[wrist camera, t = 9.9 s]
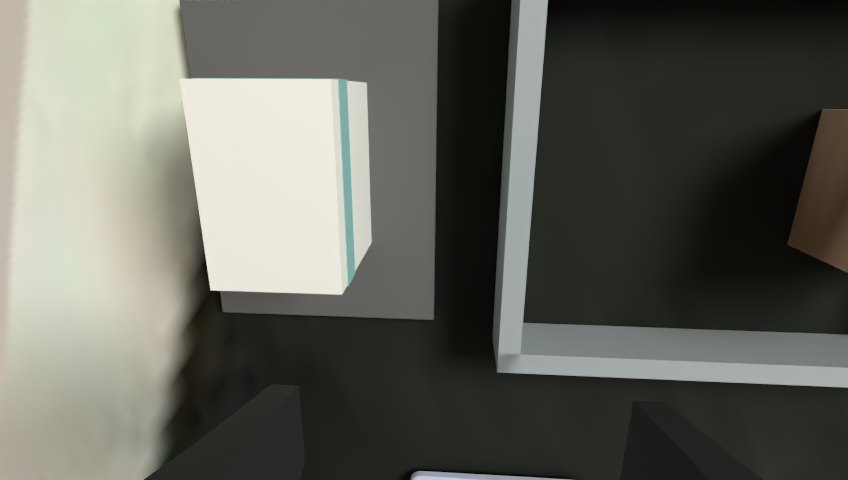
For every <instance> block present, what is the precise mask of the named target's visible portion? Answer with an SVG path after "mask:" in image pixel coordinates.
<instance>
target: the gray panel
mask: <svg viewBox="0 0 848 480" xmlns="http://www.w3.org/2000/svg"><path fill="white" fill-rule="evenodd" d="M180 7H181V14H182V21H183V29H184V36H185V43H186V50H187V57H188V65H189V72H190V79H193V78H307V79H347V81H355V82H366V83H367V105H368V138H369V171H370V204H371V237H372V243H371V244H370V246H369V248H368V250H367V252H366V253H365V255H364V257H363V259H362V260H361V262H360V264H359V266H358V268H357V269H356V271H355V275H354V277H353V279H352V281H351V283H350V284H349V286H347V287H346V289H345V291H344V292H343V294H342V295H335V294H305V293H275V292H244V291H220V295H221V302H222V310H223V312H234V313H261V314H289V315H316V316H343V317H371V318H398V319H426V320H434V284H435V211H436V138H437V65H438V0H180Z"/></svg>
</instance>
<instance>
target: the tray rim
mask: <svg viewBox="0 0 848 480" xmlns="http://www.w3.org/2000/svg"><path fill="white" fill-rule="evenodd" d="M547 7H548V0H512V3H511V21H510V38H509V56H508V73H507V91H506V109H505V126H504V144H503V161H502V179H501V197H500V214H499V232H498V249H497V267H496V285H495V302H494V320H493V337H492V339H493V346H494V353H495V360H496V367H497V372H501V373H524V374H548V375H571V376H594V377H617V378H640V379H664V380H687V381H710V382H733V383H756V384H780V385H803V386H826V387H848V335H842V334H814V333H787V332H759V331H732V330H705V329H677V328H650V327H622V326H595V325H567V324H540V323H523V314H524V301H525V288H526V275H527V262H528V250H529V237H530V224H531V211H532V199H533V186H534V173H535V160H536V147H537V135H538V122H539V109H540V96H541V84H542V71H543V58H544V45H545V32H546V20H547Z"/></svg>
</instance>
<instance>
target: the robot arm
mask: <svg viewBox="0 0 848 480" xmlns="http://www.w3.org/2000/svg"><path fill="white" fill-rule="evenodd" d="M304 464H305V452H304V441H303V429H302V418H301V407H300V396H299V386H297V385H275V384H272V385H270V386H269V387H267V388H266V389H265V390H263V391H262V392H261V393H259V394H258V395H257V396H255V397H254V398H253V399H252V400H250V401H249V402H248V403H247V404H245V405H244V406H243V407H242V408H240V409H239V410H238V411H236V412H235V413H234V414H233V415H231V416H230V417H229V418H228V419H226V420H225V421H224V422H222V423H221V424H220V425H218V426H217V427H216V428H215V429H213V430H212V431H211V432H209V433H208V434H207V435H205V436H204V437H203V438H202V439H200V440H199V441H198V442H196V443H195V444H194V445H192V446H191V447H189V448H188V449H187V450H185V451H184V452H182V453H181V454H180V455H178V456H177V457H175V458H174V459H172V460H171V461H170V462H168V463H167V464H165V465H164V466H163V467H161V468H160V469H158V470H157V471H156V472H154V473H153V474H151V475H150V476H148V477H147V478H146V479H144V480H300V478H301V474H302V471H303V467H304ZM620 479H621V480H763V479H762V478H761V477H759V476H758V475H757V474H755V473H754V472H753V471H751V470H750V469H749V468H747V467H746V466H745V465H744V464H742V463H741V462H740V461H738V460H737V459H736V458H734V457H733V456H732V455H731V454H729V453H728V452H727V451H726V450H724V449H723V448H722V447H720V446H719V445H718V444H717V443H715V442H714V441H713V440H712V439H710V438H709V437H708V436H707V435H705V434H704V433H703V432H702V431H700V430H699V429H698V428H696V427H695V426H694V425H693V424H691V423H690V422H689V421H688V420H686V419H685V418H684V417H682V416H681V415H680V414H679V413H677V412H676V411H675V410H673V409H672V408H671V407H669V406H668V405H666V404H665V403H663V402H644V401H633V407H632V413H631V419H630V425H629V431H628V437H627V443H626V448H625V454H624V460H623V466H622V472H621V478H620ZM410 480H571V479H554V478H536V477H518V476H501V475H483V474H465V473H448V472H430V471H417V472H415V473H413V474H412V475H411V479H410Z"/></svg>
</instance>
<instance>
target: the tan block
mask: <svg viewBox="0 0 848 480" xmlns="http://www.w3.org/2000/svg"><path fill="white" fill-rule="evenodd" d="M787 245H789V246H791V247H793V248H795V249H798V250H800V251H802V252H804V253H806V254H808V255H810V256H813V257H815V258H817V259H819V260H821V261H823V262H825V263H828V264H830V265H832V266H834V267H836V268H838V269H841V270H843V271H845V272H847V273H848V110H847V109H822V113H821V116H820V120H819V124H818V128H817V132H816V136H815V140H814V144H813V147H812V151H811V155H810V159H809V163H808V167H807V171H806V174H805V178H804V182H803V186H802V190H801V194H800V198H799V201H798V205H797V209H796V213H795V217H794V221H793V225H792V228H791V232H790V236H789V240H788V244H787Z"/></svg>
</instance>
